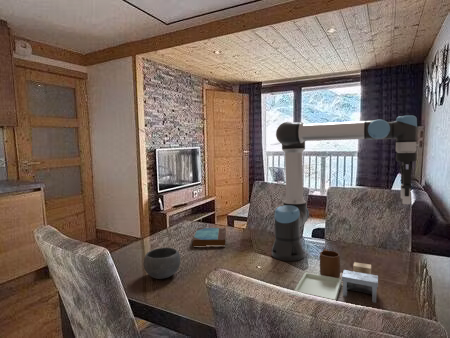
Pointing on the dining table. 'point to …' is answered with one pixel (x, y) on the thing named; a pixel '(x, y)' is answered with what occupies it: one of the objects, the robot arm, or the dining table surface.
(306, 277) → the tray
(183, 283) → the dining table surface
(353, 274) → the gray bench
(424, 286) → the dining table surface
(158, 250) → the bowl
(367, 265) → the block
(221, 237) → the book
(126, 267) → the dining table surface
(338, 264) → the mug
